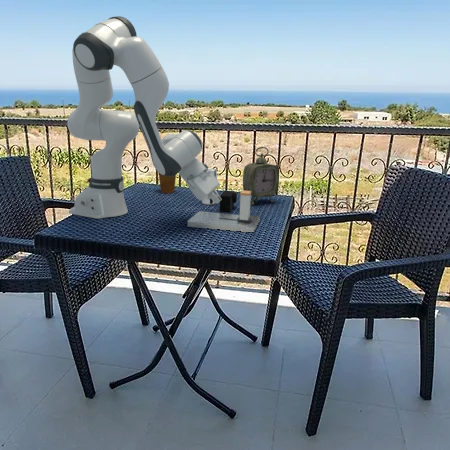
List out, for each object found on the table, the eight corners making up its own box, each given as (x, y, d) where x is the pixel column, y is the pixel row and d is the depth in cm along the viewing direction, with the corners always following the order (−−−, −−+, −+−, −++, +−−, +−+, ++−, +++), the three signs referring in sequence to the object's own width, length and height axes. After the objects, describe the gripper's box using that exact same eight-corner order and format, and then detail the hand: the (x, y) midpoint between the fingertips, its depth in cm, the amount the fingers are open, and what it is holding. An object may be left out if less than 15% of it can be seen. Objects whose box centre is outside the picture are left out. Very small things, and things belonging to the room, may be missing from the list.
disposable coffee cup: (155, 193, 187) (154, 168, 184) (161, 189, 196) (161, 165, 193) (174, 194, 186) (173, 169, 182) (179, 190, 195) (179, 166, 191)
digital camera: (232, 213, 159) (233, 196, 156) (219, 212, 159) (220, 195, 157) (236, 206, 168) (237, 191, 166) (224, 206, 169) (224, 190, 167)
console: (187, 226, 140) (187, 215, 139) (199, 216, 153) (199, 206, 152) (253, 233, 135) (253, 222, 133) (259, 221, 148) (260, 211, 146)
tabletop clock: (250, 206, 169) (253, 148, 162) (239, 201, 177) (242, 146, 169) (277, 203, 176) (281, 147, 169) (265, 198, 184) (268, 145, 176)
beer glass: (216, 205, 169) (217, 171, 165) (200, 204, 169) (200, 170, 165) (216, 201, 176) (217, 168, 171) (201, 200, 176) (201, 168, 172)
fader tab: (236, 220, 140) (237, 192, 137) (239, 217, 144) (240, 190, 141) (250, 222, 139) (251, 193, 136) (252, 218, 143) (253, 191, 140)
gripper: (191, 172, 131) (218, 203, 132) (207, 163, 150) (231, 190, 151) (178, 184, 133) (205, 214, 134) (196, 174, 152) (219, 200, 153)
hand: (219, 201), depth 142 cm, fingers closed
